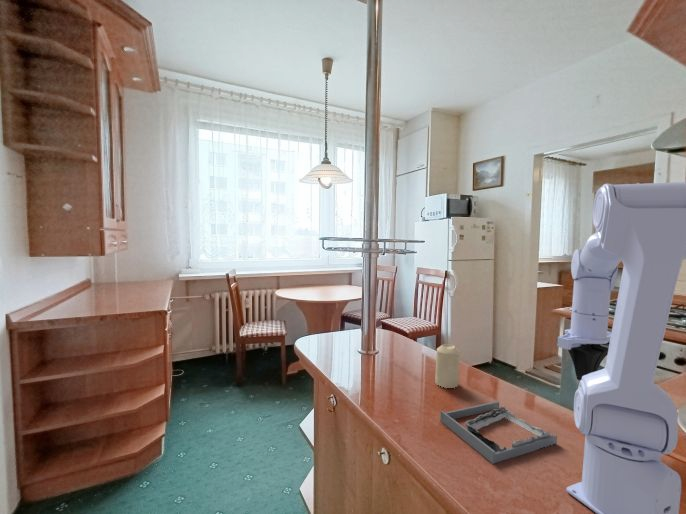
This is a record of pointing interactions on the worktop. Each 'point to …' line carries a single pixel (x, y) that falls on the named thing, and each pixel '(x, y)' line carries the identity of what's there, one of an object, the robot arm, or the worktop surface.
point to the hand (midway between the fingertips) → (584, 381)
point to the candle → (447, 366)
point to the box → (481, 446)
